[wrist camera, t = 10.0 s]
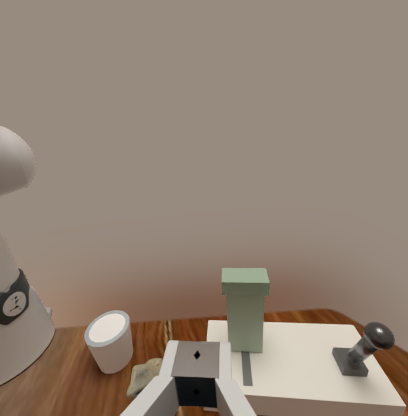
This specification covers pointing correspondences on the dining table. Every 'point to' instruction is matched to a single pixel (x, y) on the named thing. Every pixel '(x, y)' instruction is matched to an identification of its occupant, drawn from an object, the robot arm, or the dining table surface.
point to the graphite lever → (371, 342)
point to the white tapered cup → (110, 341)
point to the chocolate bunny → (143, 376)
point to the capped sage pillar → (245, 306)
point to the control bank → (309, 373)
